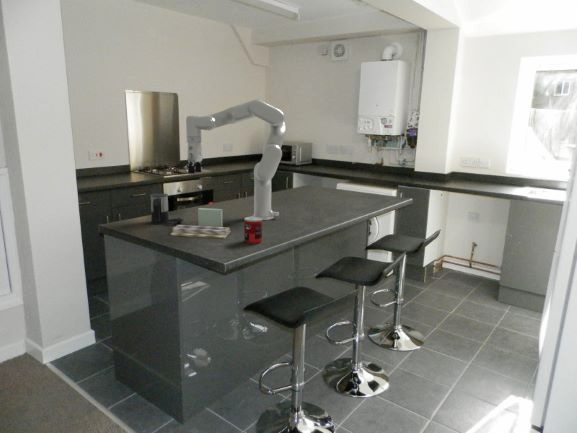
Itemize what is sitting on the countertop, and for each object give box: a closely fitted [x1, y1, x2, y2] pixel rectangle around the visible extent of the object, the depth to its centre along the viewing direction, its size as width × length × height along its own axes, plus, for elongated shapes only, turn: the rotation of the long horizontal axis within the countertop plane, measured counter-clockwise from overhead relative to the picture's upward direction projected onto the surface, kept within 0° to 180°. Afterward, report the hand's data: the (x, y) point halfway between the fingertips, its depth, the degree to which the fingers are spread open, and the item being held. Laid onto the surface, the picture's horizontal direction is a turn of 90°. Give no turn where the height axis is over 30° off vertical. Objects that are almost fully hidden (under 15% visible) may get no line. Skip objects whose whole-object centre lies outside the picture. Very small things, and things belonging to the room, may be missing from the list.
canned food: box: [243, 216, 263, 245], centre depth 189 cm, size 8×8×11 cm
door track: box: [170, 224, 232, 239], centre depth 201 cm, size 26×12×3 cm, turn 84°
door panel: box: [197, 207, 224, 227], centre depth 215 cm, size 12×3×9 cm, turn 84°
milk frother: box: [149, 193, 184, 225], centre depth 219 cm, size 14×16×15 cm
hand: (195, 172), depth 224 cm, fingers open, 9 cm apart
